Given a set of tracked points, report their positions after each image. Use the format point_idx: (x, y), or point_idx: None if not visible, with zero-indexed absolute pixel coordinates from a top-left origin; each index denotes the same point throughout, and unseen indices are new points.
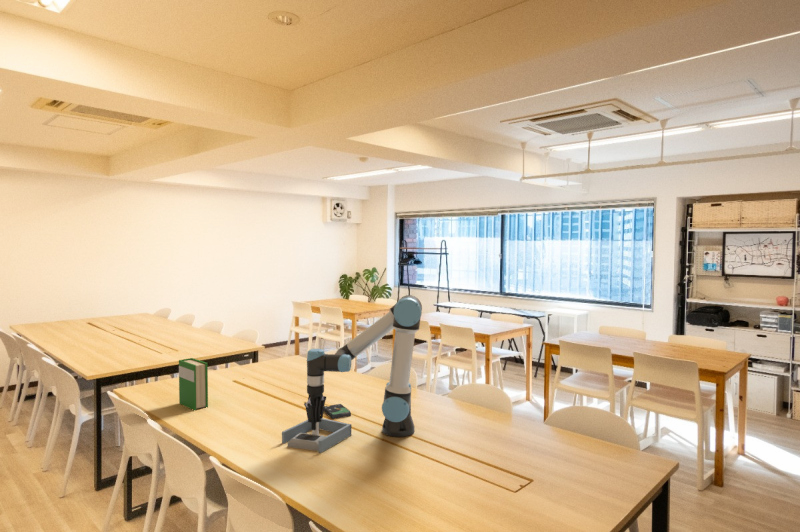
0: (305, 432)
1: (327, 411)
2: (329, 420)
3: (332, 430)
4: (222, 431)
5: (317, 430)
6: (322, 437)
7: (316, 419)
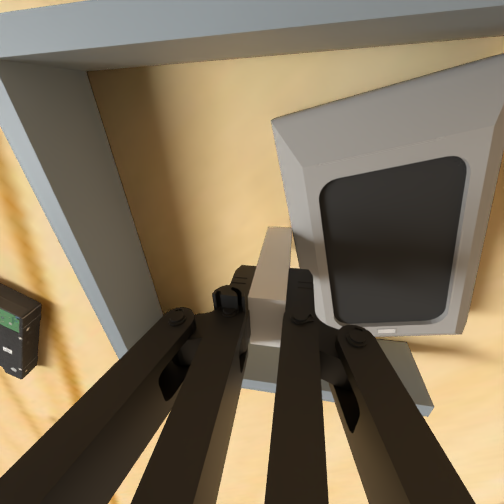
0: None
1: (26, 349)
2: (88, 276)
3: (125, 218)
4: (365, 498)
5: (281, 252)
6: (336, 149)
7: (285, 336)
